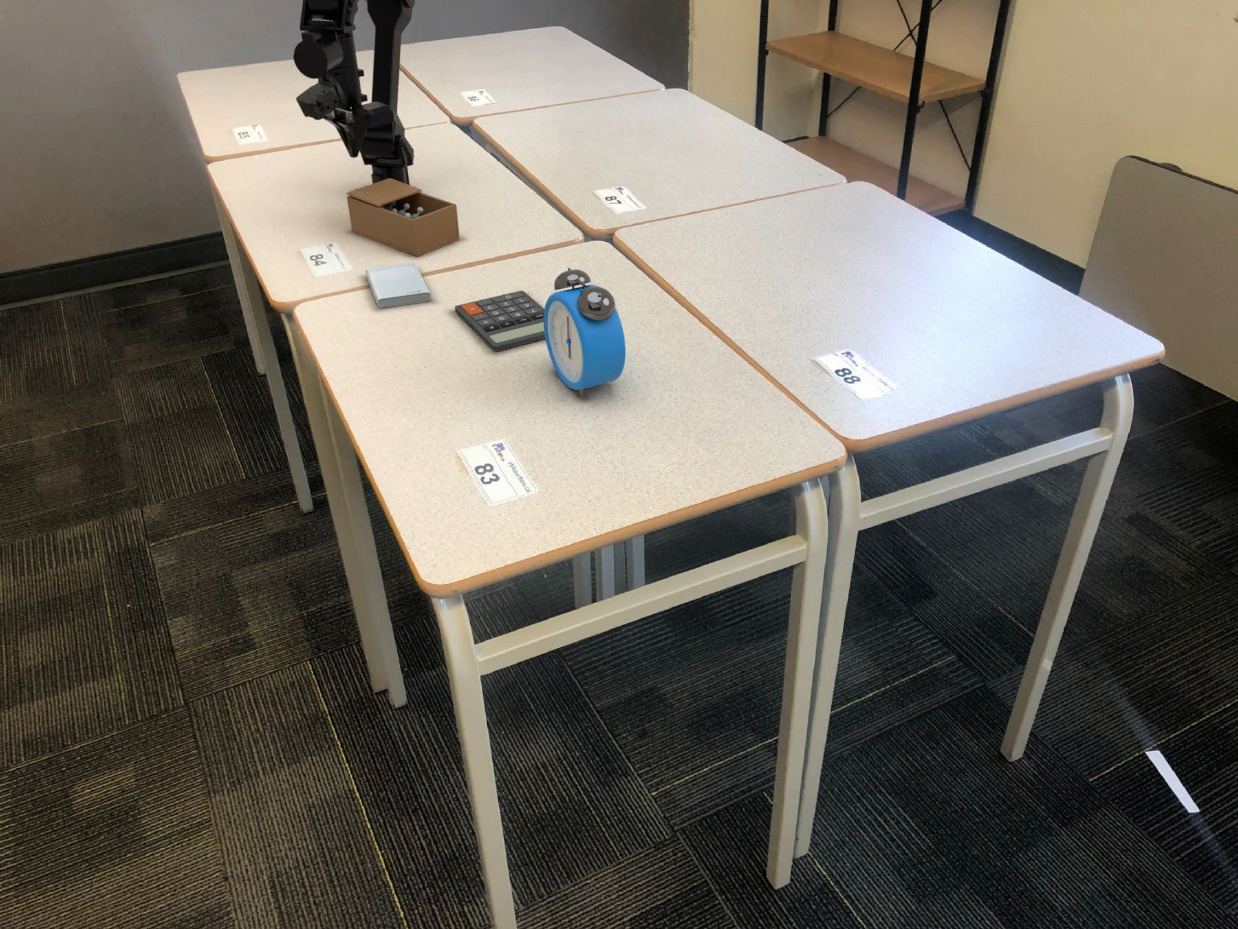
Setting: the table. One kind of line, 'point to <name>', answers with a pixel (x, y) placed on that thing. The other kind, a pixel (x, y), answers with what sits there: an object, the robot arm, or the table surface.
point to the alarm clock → (583, 332)
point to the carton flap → (384, 192)
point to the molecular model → (402, 212)
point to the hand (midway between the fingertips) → (354, 156)
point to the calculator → (505, 319)
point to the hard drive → (397, 285)
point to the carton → (407, 223)
